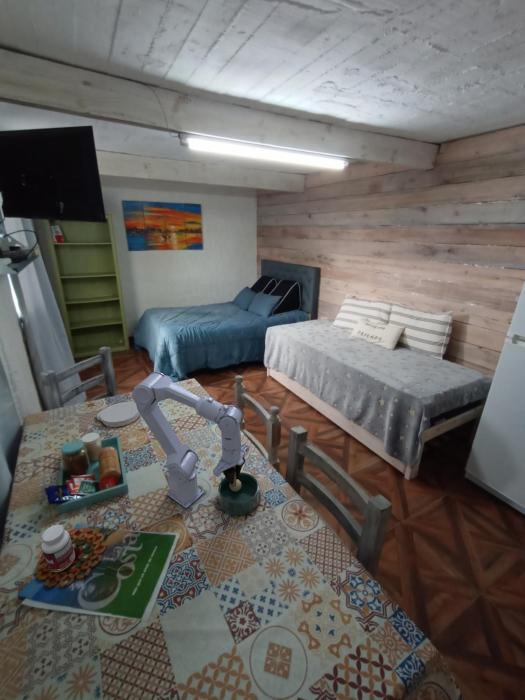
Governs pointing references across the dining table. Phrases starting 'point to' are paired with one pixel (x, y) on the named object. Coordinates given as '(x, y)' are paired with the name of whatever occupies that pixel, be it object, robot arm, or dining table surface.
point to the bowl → (239, 495)
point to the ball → (236, 486)
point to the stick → (234, 479)
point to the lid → (119, 414)
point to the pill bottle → (57, 548)
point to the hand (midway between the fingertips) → (232, 480)
